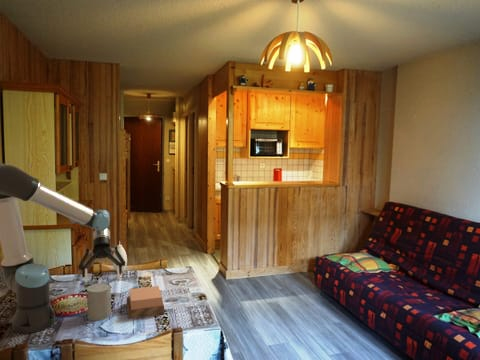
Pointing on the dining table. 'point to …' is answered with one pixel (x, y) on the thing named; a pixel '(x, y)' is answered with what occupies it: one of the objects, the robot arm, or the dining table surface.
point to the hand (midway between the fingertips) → (102, 282)
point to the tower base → (143, 310)
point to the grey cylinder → (99, 301)
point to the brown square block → (145, 297)
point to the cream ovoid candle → (122, 253)
